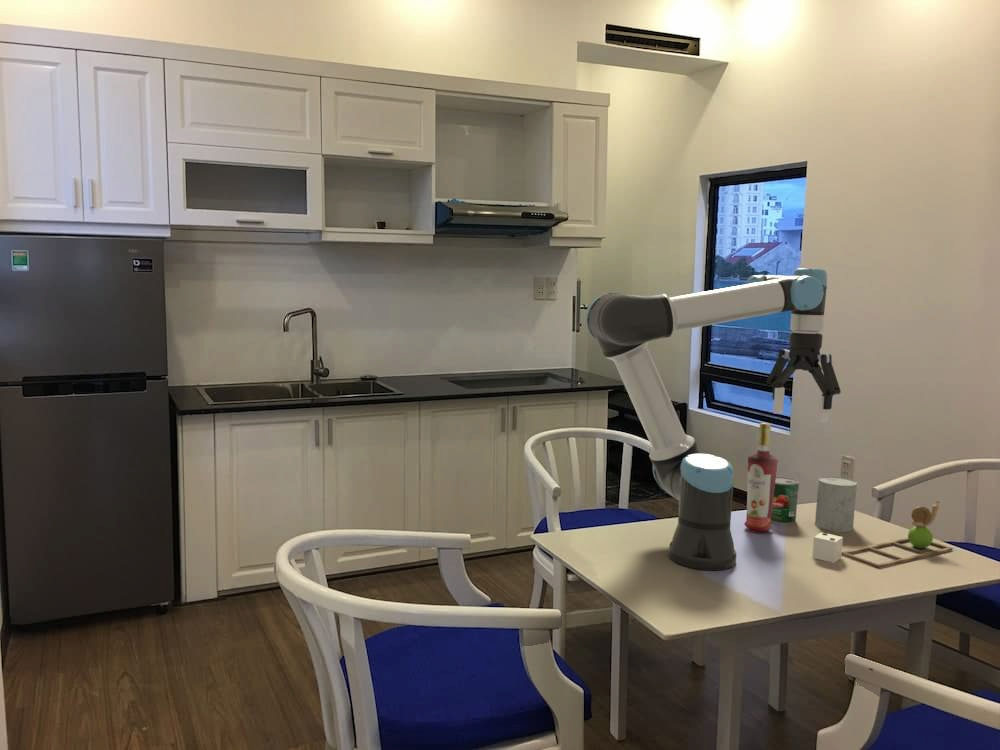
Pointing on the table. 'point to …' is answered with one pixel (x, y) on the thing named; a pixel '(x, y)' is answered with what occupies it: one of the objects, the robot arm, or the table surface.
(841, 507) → the grey cylinder
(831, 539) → the die
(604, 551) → the table surface
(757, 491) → the liquor
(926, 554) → the wooden ladder frame
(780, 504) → the canned tomato
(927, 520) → the snail figurine
